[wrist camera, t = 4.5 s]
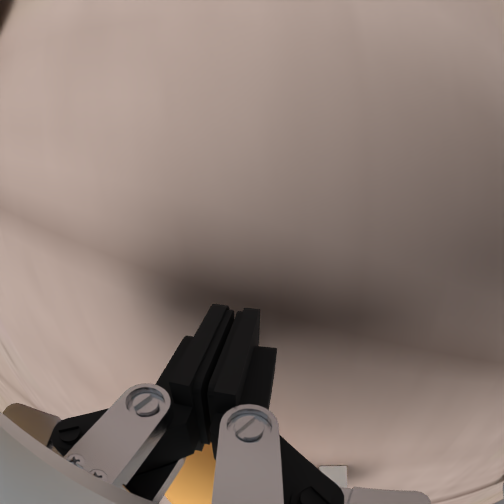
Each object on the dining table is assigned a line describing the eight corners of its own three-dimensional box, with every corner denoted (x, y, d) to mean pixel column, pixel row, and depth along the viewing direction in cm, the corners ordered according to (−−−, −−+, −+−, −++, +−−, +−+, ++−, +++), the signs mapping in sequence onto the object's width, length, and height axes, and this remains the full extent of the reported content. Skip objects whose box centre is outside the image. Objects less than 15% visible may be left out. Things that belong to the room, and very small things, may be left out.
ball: (246, 493, 14) (265, 428, 16) (253, 542, 8) (280, 469, 10) (164, 476, 14) (175, 409, 16) (143, 521, 8) (152, 444, 10)
